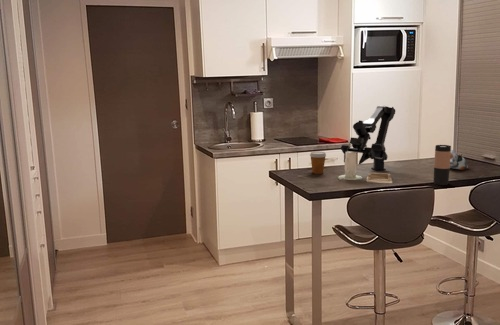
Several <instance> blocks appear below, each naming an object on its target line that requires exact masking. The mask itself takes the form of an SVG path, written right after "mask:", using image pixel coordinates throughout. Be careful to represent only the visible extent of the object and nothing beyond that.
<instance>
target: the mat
mask: <svg viewBox="0 0 500 325" xmlns="http://www.w3.org/2000/svg"><path fill="white" fill-rule="evenodd" d="M337 179H338V180H339V181H342V180H345V181H346V180H347V181H348V180H349V181H356V180H357V181H358V180H362V179H363V177H362V176H361V175H357V174H356V178H345V174H341V175H339V176H338V178H337Z"/></svg>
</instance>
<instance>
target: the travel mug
mask: <svg viewBox="0 0 500 325" xmlns="http://www.w3.org/2000/svg"><path fill="white" fill-rule="evenodd" d="M451 150H452V146H451V145H448V144H436V145H435V147H434V159H433V160H434V161H433V162H434V164H433V184H435V185H438V186H447V185H448V184H449V180H450V170H451V168H450V155H451Z"/></svg>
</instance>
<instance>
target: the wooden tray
mask: <svg viewBox="0 0 500 325" xmlns="http://www.w3.org/2000/svg"><path fill="white" fill-rule="evenodd" d="M392 179H393V178H392V177H391V173H385V172H384V173H382V172H379V173H378V172H368V176H366V183H374V184H375V183H376V184H377V183H378V184H379V183H381V184H393V180H392Z"/></svg>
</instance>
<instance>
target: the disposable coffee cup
mask: <svg viewBox="0 0 500 325" xmlns="http://www.w3.org/2000/svg"><path fill="white" fill-rule="evenodd" d="M309 156H310V161H311V164H310V165H311V170H312V173H313V174H316V175H321V174H323V173H324V171H325V170H324V168H325V161H326V157H327V153H326V152H325V151H311V152H310V154H309Z"/></svg>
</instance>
